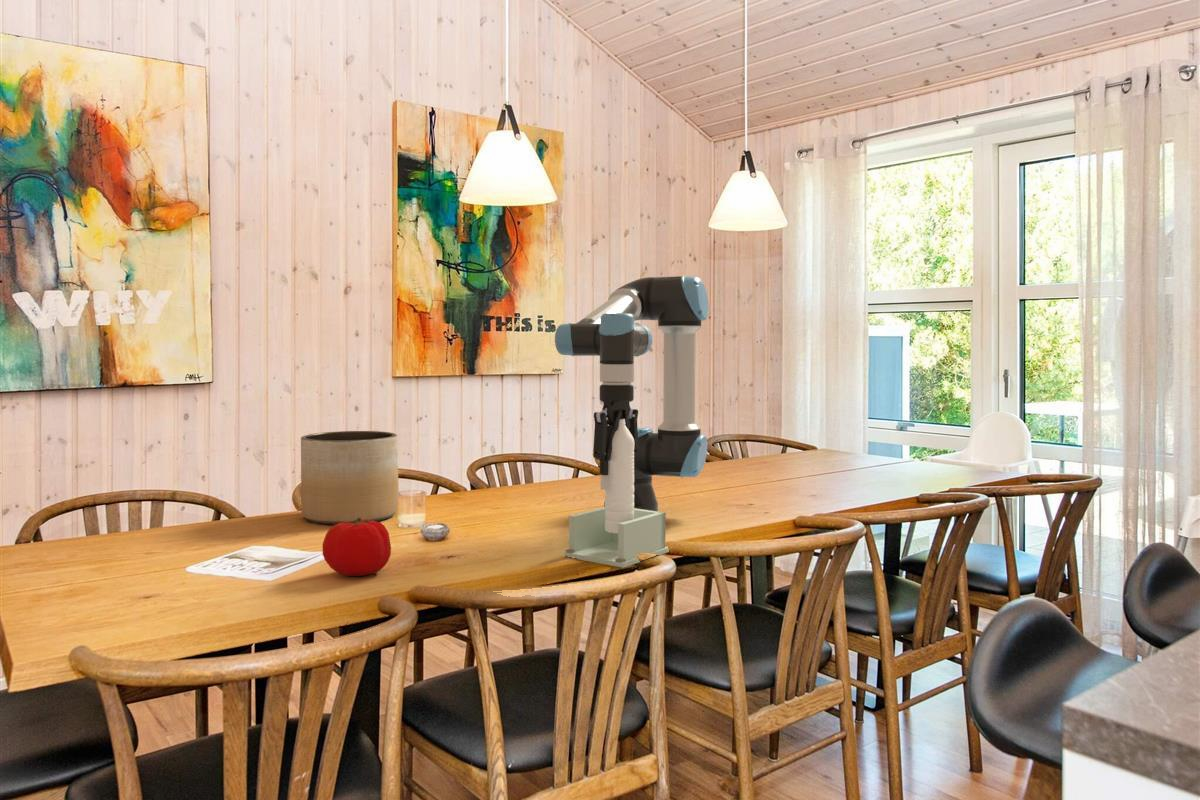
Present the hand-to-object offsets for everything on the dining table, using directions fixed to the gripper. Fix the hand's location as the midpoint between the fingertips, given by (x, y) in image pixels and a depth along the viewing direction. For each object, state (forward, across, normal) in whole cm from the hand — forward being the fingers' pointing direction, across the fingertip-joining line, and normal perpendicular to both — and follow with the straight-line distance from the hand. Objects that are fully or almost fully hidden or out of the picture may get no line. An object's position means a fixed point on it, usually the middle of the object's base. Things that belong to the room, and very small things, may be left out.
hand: (616, 487), depth 195 cm
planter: (+15, +9, -82) cm, 84 cm away
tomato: (+15, +45, -32) cm, 58 cm away
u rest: (+15, -1, 0) cm, 15 cm away
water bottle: (+10, -1, 0) cm, 10 cm away
